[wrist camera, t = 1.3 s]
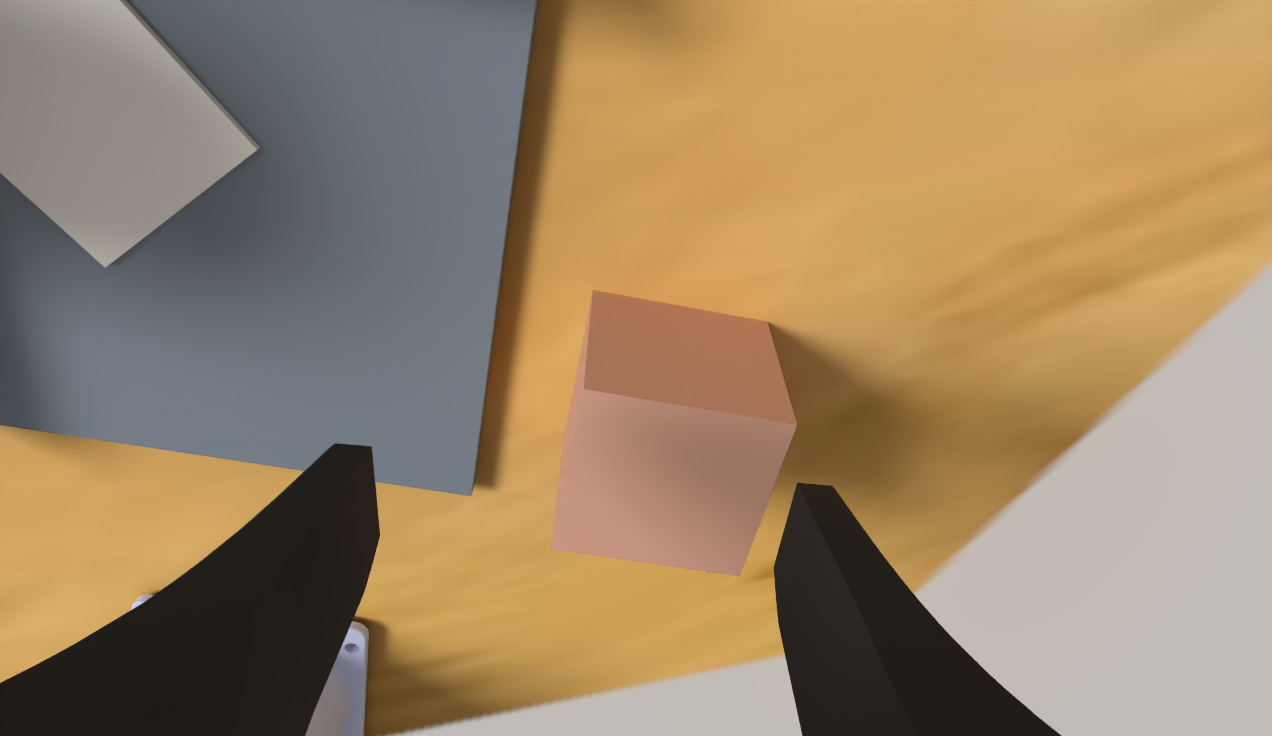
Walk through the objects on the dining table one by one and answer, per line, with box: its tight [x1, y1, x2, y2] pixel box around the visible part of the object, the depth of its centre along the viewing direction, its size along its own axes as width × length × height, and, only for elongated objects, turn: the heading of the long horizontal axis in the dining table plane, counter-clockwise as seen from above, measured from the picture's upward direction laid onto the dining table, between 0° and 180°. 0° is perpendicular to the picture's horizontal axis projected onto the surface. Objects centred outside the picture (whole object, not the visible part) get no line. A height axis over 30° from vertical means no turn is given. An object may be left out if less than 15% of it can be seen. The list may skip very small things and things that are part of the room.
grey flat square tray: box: [0, 0, 538, 496], centre depth 20 cm, size 16×16×4 cm
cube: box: [551, 290, 797, 576], centre depth 22 cm, size 5×5×5 cm
